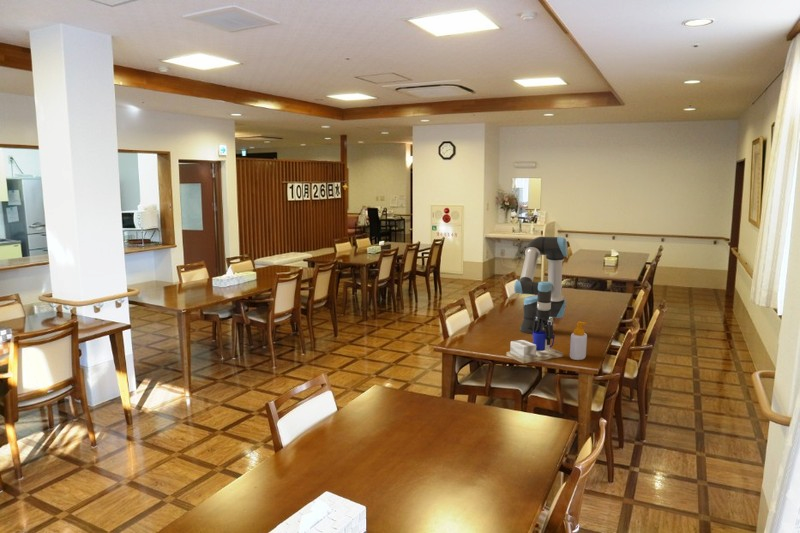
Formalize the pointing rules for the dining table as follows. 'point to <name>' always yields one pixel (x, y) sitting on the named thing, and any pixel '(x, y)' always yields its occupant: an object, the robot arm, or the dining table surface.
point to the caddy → (530, 352)
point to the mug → (540, 340)
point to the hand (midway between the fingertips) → (542, 348)
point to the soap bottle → (578, 343)
